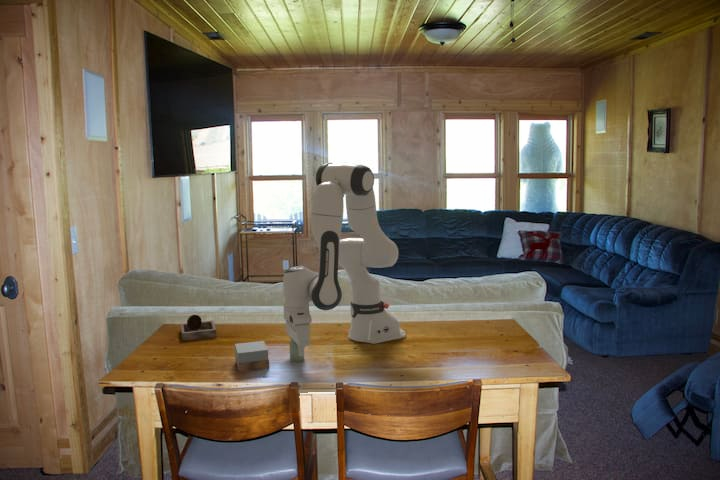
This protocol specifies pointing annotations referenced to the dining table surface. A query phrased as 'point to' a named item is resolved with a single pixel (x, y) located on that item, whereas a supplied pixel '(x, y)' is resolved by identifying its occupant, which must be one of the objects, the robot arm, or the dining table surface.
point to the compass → (194, 322)
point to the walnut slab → (252, 365)
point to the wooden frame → (201, 333)
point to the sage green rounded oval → (295, 352)
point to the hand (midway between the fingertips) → (297, 351)
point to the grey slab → (251, 351)
